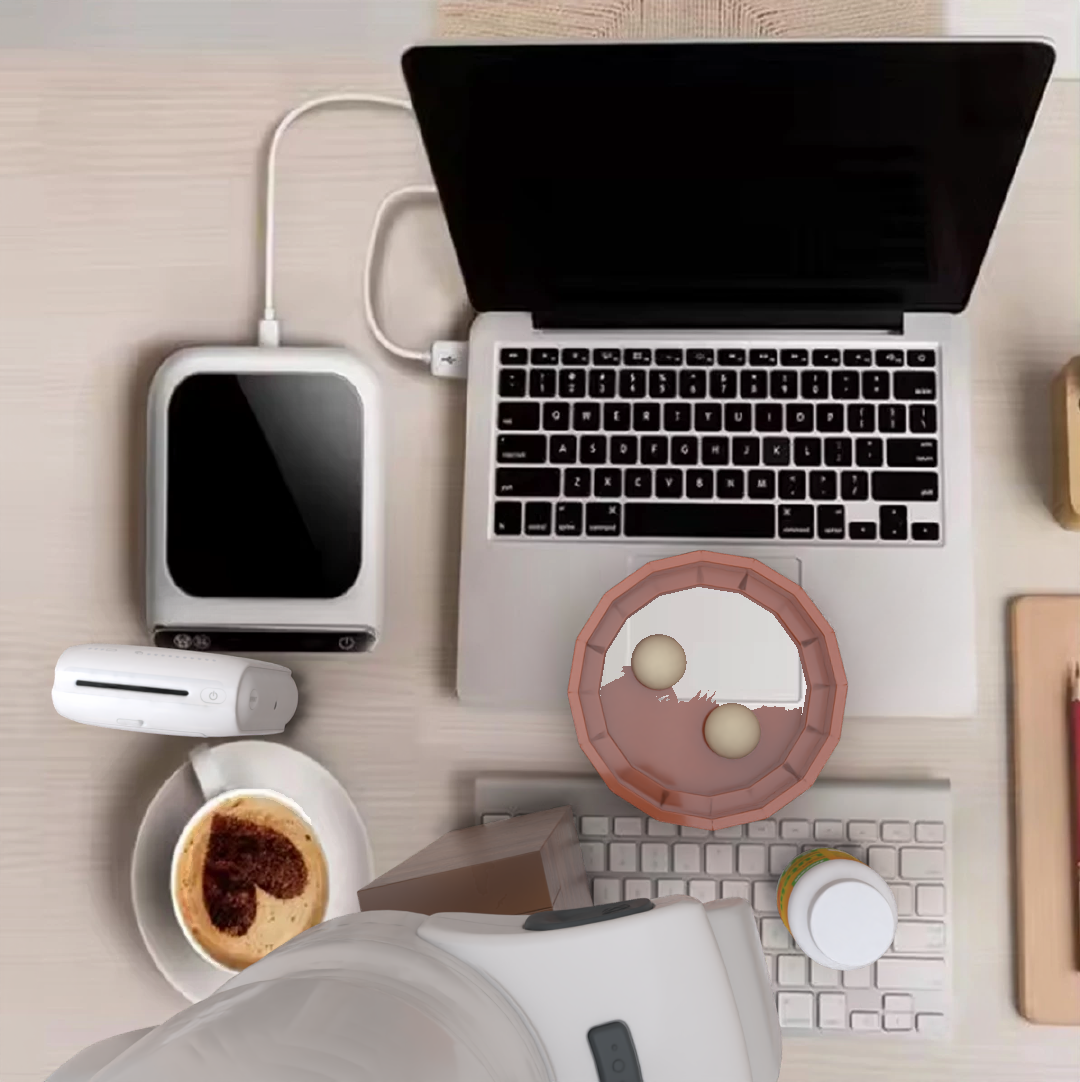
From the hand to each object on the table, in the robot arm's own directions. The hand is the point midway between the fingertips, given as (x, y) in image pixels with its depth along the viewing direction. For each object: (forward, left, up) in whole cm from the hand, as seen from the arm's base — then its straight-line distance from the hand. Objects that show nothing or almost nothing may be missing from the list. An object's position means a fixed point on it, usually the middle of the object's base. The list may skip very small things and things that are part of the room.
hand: (450, 994), depth 46 cm
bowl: (+8, -12, -31) cm, 34 cm away
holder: (0, 0, -31) cm, 31 cm away
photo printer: (+14, +15, -31) cm, 37 cm away
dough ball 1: (+10, -10, -29) cm, 32 cm away
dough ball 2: (+6, -13, -29) cm, 32 cm away
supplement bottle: (-4, -16, -31) cm, 35 cm away
